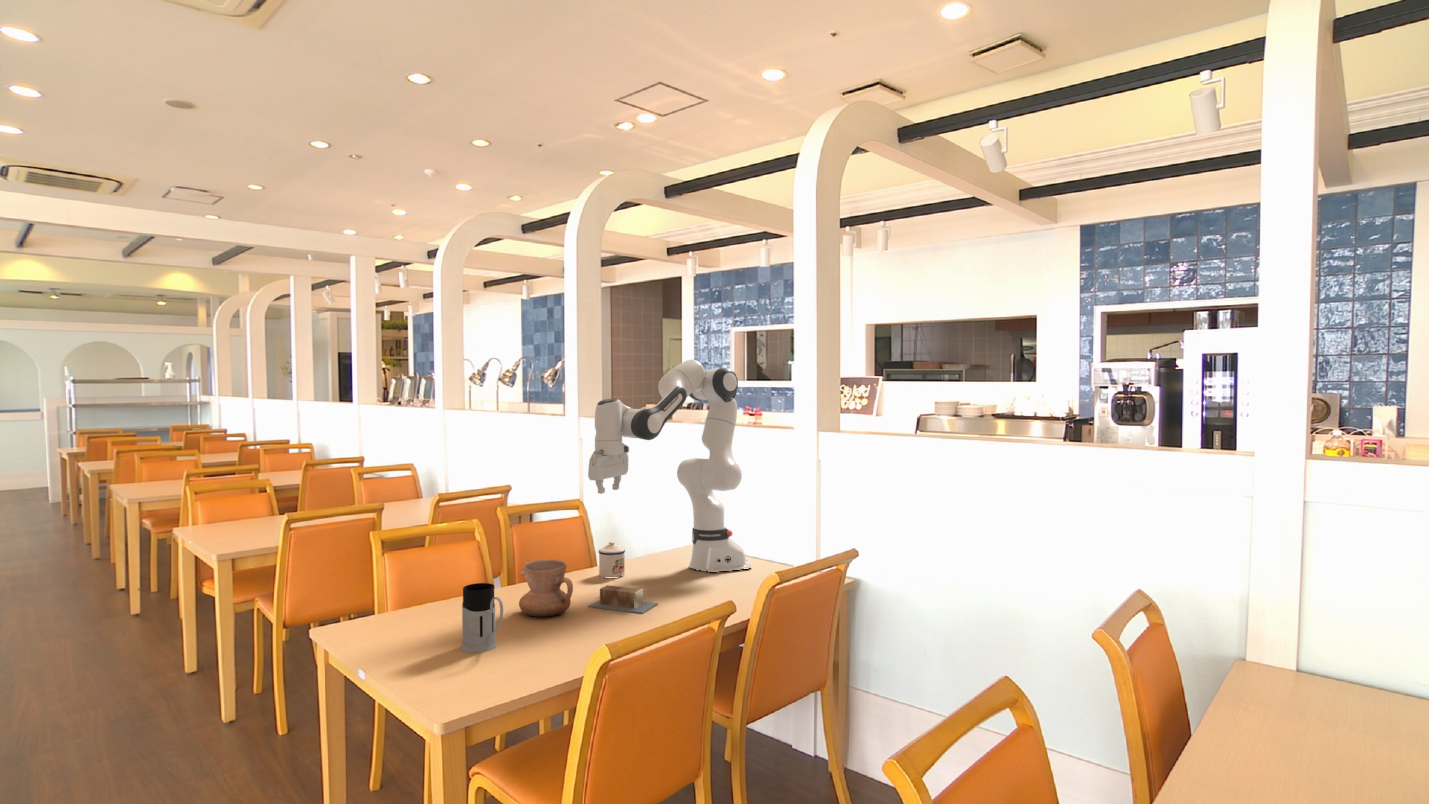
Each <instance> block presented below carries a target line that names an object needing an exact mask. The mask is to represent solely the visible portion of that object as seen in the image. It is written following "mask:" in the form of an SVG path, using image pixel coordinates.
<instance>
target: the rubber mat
mask: <svg viewBox="0 0 1429 804" xmlns="http://www.w3.org/2000/svg"><path fill="white" fill-rule="evenodd" d="M658 605H659V603H658V602H653V601H645V600H643V604H642V605H641V606H639V607H637V608H630V607H621V606H613V605H604V604H600V599H599V600H597V601H595V602H593V603H591V604H589V605H588V608H592V609H601V610H610V611H617V612H618V611H619V612H625V613H633V614H634V613H635V614H641V615H643V614H645V613H647V612H648V611H650V610H651V609H653V608H655V607H656V606H658Z"/></svg>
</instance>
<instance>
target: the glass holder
mask: <svg viewBox="0 0 1429 804" xmlns="http://www.w3.org/2000/svg"><path fill="white" fill-rule="evenodd" d="M495 600H497V601H498V604H499V611H500V612H499V617H498V618H499V619H498V622H497V625H496V604H495ZM461 606H462V607H461V609H462V610H461V611H462V612H461V613H462V614H461V615H462V616H461V619H462V620H461V622H462V625H461V626H462V631H461V632H462V633H461V634H462V641H461V642H462V643H461V645H460V650H461V651H463V652H465V653H470V654H471V653H473V654H475V653H484V652H487V651H492V650H494V649H495V648H497V647H498V643H497V641H496V633H497V631H498V630H499V629H500V628H501V624H502V622H503V619H504V616H503V615H504V604H503V601H502V598H500V597H498V596H495V585H494V584H493V583H490V582H489V583H487V582H477V583H471V584H467V585H465V586H463V587H462V605H461Z"/></svg>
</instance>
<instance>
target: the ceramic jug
mask: <svg viewBox="0 0 1429 804" xmlns="http://www.w3.org/2000/svg"><path fill="white" fill-rule="evenodd" d="M522 570H523V571H521V573H520V575H521V576H523V577H525V580H526V583H527V586H528V588H529V589H530V590H529V591H527V592H526V593H525V594H523V595H522V596H521V597H520V599H519V602H518V607H519V609H520V611H521V612H522V613H524V614H526V615H529V616H530V617H531V616H533V617H538V618H539V617H540V618H541V617H551V616H555V615H556V616H557V615H559V614H562V613H564V612H565V611H567V610H568V609H569V607H570V606H571V604H572V603H571V598H572V595H573V592H574V584H573V582H572V580H571V579H570V578H568V577H565V575H566V571H567V562H566V561H564V560H559V559H537V560H536V559H535V560H532V561H531V562H525V563H524V564H523V569H522ZM564 583H565V584H566V586H567V588H566V589H567V591H566V592H565V591H564V590H562V589H561V586H562V584H564Z"/></svg>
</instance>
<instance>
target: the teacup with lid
mask: <svg viewBox="0 0 1429 804" xmlns="http://www.w3.org/2000/svg"><path fill="white" fill-rule="evenodd" d="M625 549H626V548H624V547H622V546H619V545H617V544H616V543H615V541H609V542H608V544H606V545H605V546H603V547H600V548H599V549H598V556H599V557H598V560H599V561H598V563H599V564H598V567H599V568H598V570H599V571H598V572H599V574H598V575H599V577H600V578H602V577H620V576H622V575H624V576H625V572H626V571H625V553H626V550H625ZM620 578H621V577H620Z"/></svg>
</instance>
